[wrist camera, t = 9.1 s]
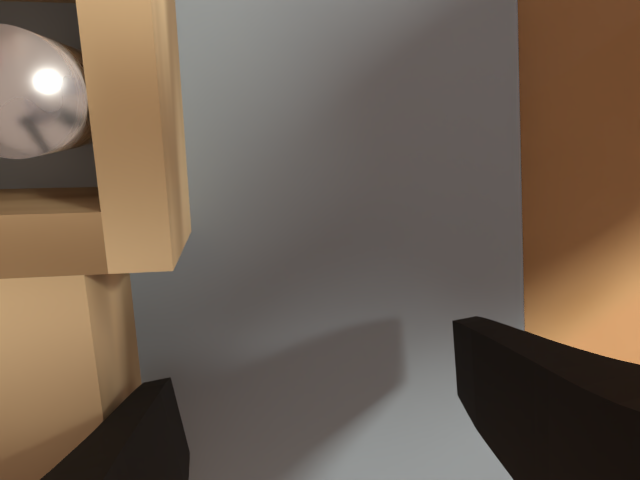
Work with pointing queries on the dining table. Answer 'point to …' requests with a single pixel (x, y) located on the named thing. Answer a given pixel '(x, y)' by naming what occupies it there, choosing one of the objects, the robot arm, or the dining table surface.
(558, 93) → the dining table surface
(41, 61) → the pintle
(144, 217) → the link
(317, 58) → the board
